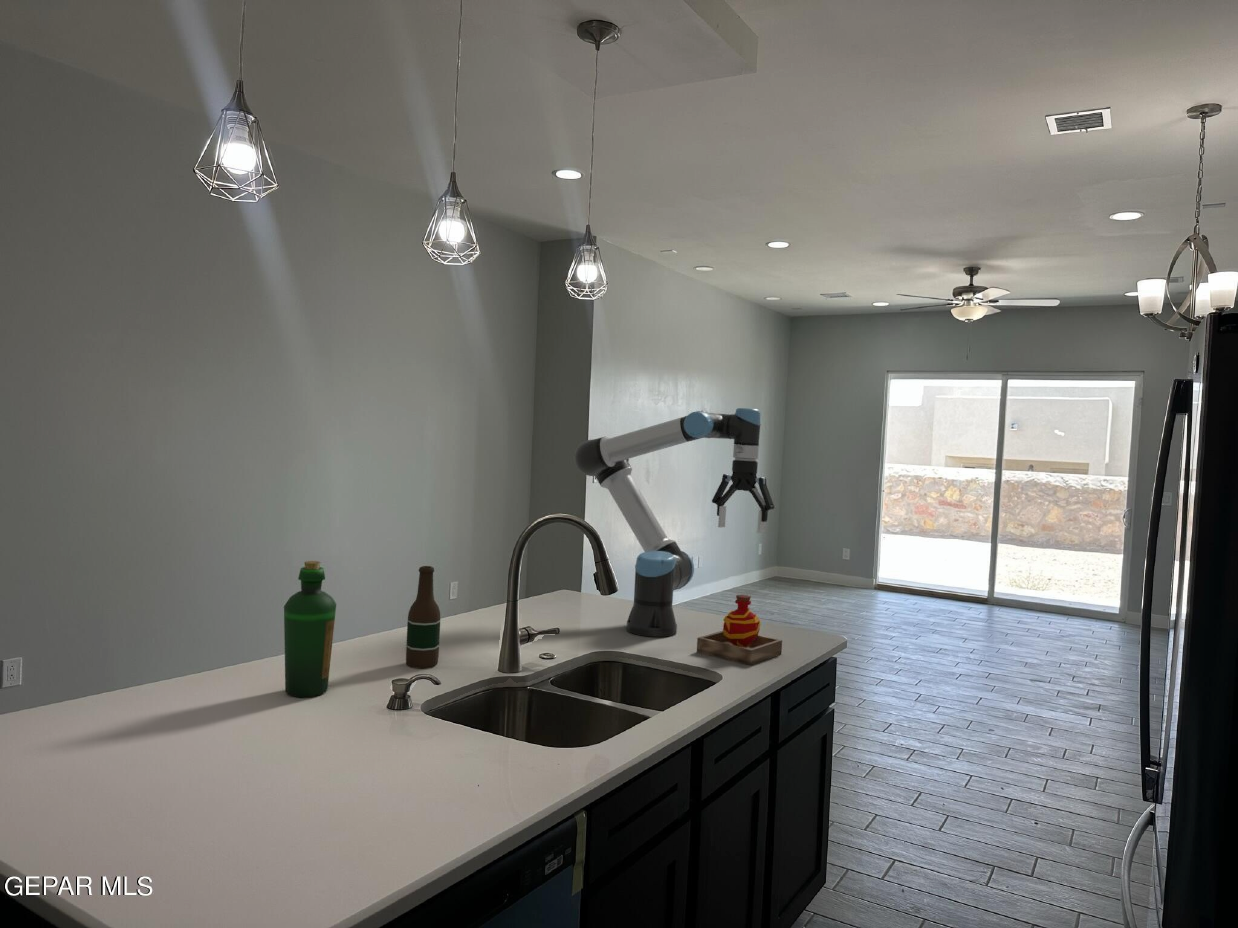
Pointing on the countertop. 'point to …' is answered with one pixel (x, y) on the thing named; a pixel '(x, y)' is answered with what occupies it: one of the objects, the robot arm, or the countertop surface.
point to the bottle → (308, 634)
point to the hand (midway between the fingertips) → (740, 529)
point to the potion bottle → (741, 623)
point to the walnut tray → (739, 648)
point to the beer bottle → (423, 625)
